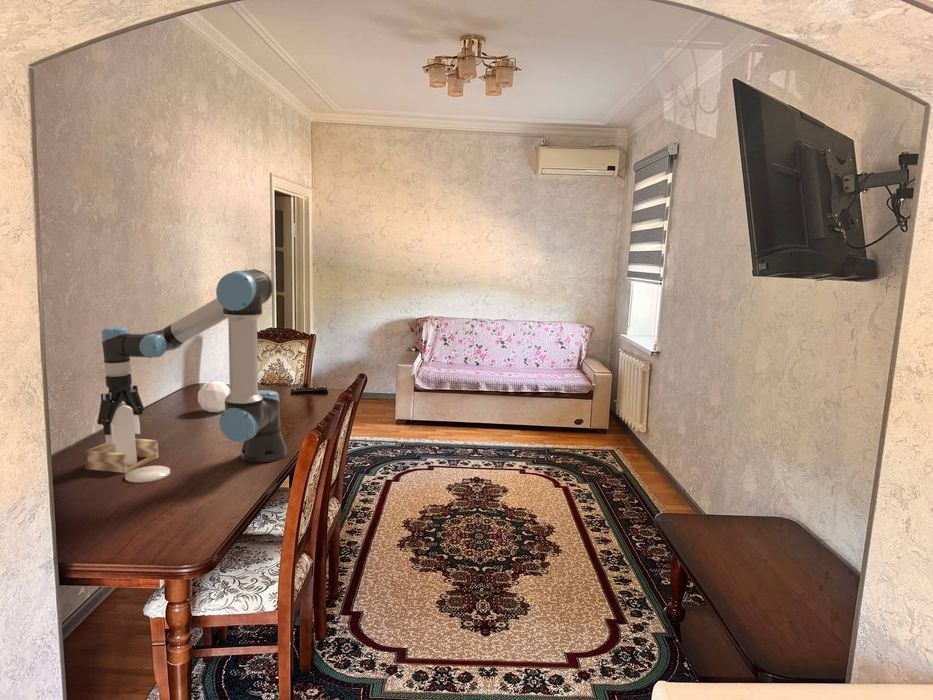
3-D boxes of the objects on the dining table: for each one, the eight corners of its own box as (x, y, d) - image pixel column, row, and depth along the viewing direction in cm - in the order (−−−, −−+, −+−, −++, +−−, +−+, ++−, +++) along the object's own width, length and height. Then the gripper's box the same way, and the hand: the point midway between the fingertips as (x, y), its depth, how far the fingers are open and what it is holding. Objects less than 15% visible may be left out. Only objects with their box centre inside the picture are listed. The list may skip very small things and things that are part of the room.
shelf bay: (158, 457, 226) (157, 440, 225) (125, 472, 210) (123, 455, 209) (121, 453, 229) (120, 437, 228) (85, 469, 214) (83, 451, 213)
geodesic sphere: (221, 404, 273) (228, 373, 280) (187, 404, 274) (194, 373, 280) (233, 418, 287) (239, 388, 293) (201, 417, 287) (207, 388, 293)
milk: (117, 467, 215) (111, 402, 212) (114, 462, 220) (108, 398, 216) (137, 463, 219) (132, 399, 215) (134, 458, 224) (128, 396, 220)
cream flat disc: (179, 469, 213) (178, 467, 213) (151, 484, 201) (151, 481, 201) (144, 466, 216) (144, 464, 216) (115, 480, 204) (115, 478, 204)
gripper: (133, 366, 226) (138, 427, 230) (80, 380, 204) (86, 448, 208) (152, 367, 225) (157, 429, 228) (100, 382, 202) (106, 450, 206)
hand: (123, 438), depth 218 cm, fingers open, 11 cm apart
